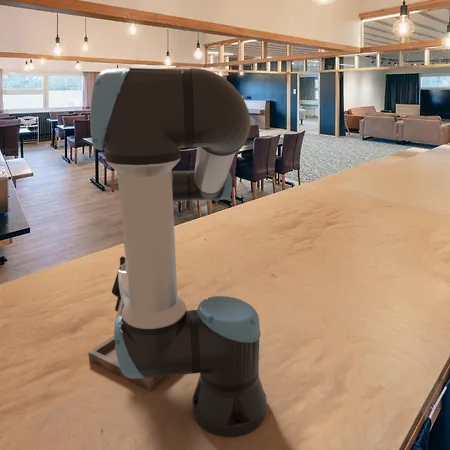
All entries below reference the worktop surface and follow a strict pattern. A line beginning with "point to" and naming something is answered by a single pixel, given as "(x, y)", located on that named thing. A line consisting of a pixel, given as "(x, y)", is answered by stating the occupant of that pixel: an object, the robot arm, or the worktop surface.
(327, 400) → the worktop surface
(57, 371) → the worktop surface
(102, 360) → the walnut tray
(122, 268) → the silver metal cup
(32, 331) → the worktop surface
